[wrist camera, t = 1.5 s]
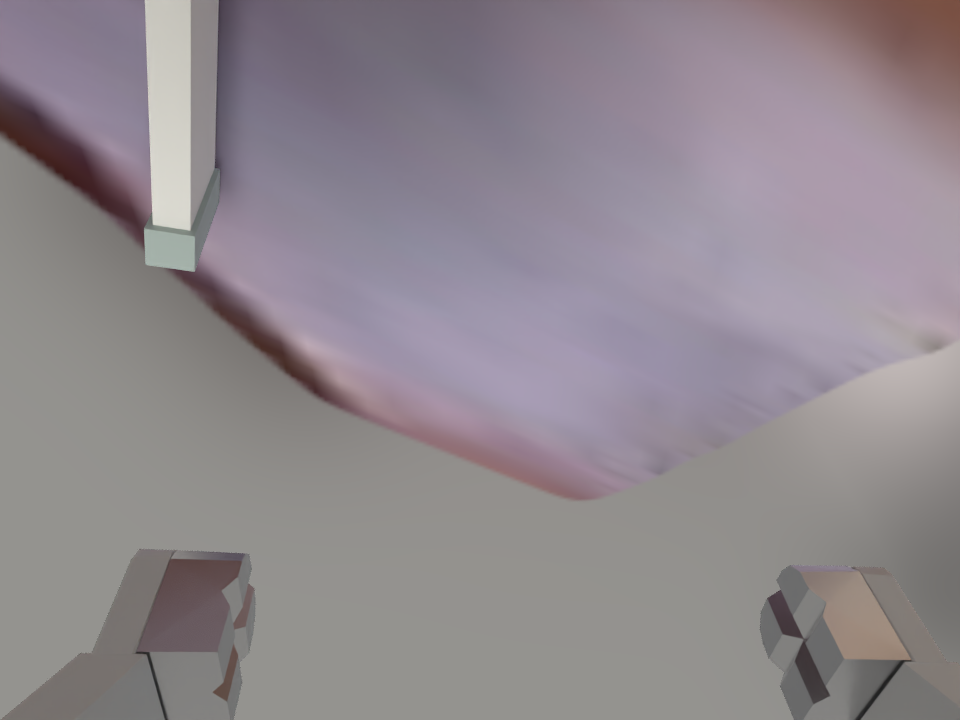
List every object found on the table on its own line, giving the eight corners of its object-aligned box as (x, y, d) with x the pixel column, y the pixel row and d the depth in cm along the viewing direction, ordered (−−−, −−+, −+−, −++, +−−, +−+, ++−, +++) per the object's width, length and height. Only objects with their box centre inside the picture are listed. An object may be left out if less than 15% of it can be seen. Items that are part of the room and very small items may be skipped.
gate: (171, -362, 24) (116, -389, 19) (234, -341, 24) (198, -361, 19) (177, 194, 36) (145, 264, 31) (219, 201, 37) (194, 271, 32)
